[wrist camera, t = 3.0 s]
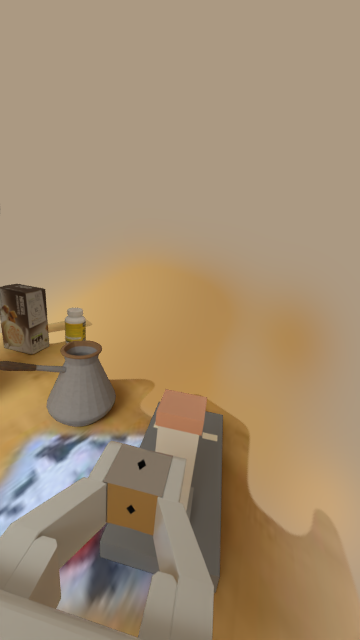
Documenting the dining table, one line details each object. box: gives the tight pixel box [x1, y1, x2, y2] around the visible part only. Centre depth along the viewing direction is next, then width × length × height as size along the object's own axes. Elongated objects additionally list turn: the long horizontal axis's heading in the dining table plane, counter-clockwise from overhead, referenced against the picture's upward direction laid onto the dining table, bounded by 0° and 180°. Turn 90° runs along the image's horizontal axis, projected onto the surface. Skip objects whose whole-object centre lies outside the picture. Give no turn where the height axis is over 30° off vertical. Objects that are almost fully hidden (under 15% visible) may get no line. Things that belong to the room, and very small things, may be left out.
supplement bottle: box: [65, 308, 86, 343], centre depth 70 cm, size 5×5×10 cm
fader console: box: [100, 402, 223, 593], centre depth 35 cm, size 12×23×3 cm, turn 169°
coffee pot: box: [0, 341, 116, 426], centre depth 39 cm, size 21×12×15 cm, turn 135°
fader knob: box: [155, 389, 207, 521], centre depth 26 cm, size 5×4×14 cm
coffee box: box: [0, 284, 49, 354], centre depth 63 cm, size 9×6×16 cm
